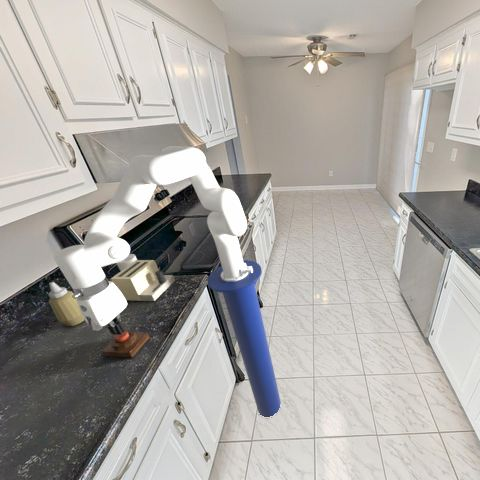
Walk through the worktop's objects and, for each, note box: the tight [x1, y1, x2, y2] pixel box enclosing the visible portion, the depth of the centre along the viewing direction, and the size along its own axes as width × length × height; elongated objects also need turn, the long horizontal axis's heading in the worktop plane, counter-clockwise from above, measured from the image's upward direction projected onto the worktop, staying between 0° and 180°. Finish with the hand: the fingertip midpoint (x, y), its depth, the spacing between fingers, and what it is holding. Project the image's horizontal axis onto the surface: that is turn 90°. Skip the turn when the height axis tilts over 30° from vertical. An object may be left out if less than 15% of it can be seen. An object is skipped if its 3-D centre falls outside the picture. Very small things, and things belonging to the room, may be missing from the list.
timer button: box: [113, 330, 130, 343], centre depth 82 cm, size 4×4×2 cm
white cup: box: [115, 253, 138, 272], centre depth 120 cm, size 8×8×10 cm
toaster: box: [110, 259, 176, 302], centre depth 109 cm, size 15×14×11 cm
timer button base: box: [100, 329, 151, 358], centre depth 83 cm, size 10×8×4 cm
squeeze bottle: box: [48, 281, 85, 327], centre depth 92 cm, size 8×8×18 cm
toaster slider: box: [155, 270, 166, 284], centre depth 109 cm, size 3×3×5 cm
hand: (118, 332), depth 81 cm, fingers closed
